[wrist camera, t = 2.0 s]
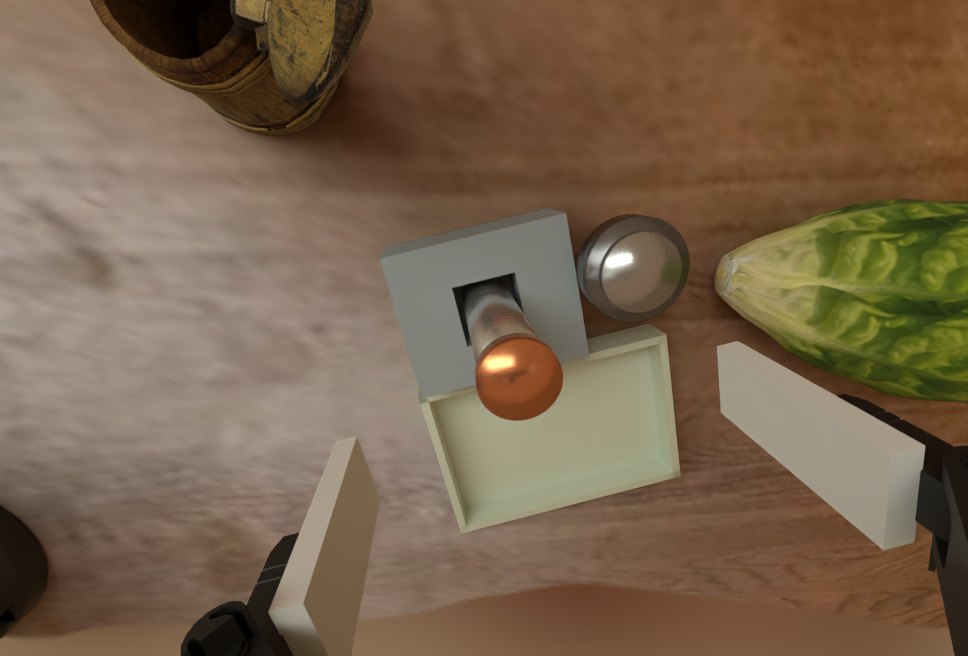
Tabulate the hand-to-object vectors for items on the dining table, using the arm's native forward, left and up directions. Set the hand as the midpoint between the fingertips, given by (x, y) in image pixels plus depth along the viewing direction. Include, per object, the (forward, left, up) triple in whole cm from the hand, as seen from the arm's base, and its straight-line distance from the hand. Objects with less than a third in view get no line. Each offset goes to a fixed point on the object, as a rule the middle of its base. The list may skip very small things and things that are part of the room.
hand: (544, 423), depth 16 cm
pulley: (+9, +1, -20) cm, 21 cm away
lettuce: (+27, -6, -20) cm, 34 cm away
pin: (0, 0, -19) cm, 19 cm away
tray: (+3, -12, -20) cm, 23 cm away
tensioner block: (0, 0, -20) cm, 20 cm away
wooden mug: (-8, +17, -20) cm, 27 cm away
